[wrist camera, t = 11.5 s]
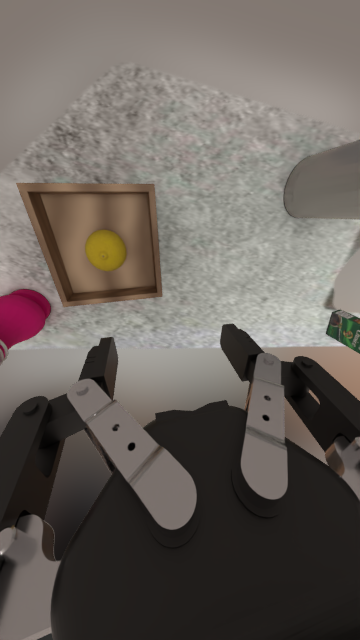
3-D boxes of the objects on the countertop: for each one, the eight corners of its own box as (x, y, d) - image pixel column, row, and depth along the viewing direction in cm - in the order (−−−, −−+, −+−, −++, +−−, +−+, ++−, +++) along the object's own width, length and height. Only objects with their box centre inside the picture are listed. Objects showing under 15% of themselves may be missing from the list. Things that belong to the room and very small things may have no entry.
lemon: (83, 236, 28) (68, 243, 21) (116, 222, 28) (111, 224, 21) (103, 269, 31) (95, 284, 24) (133, 256, 31) (133, 267, 24)
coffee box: (331, 311, 50) (387, 338, 39) (340, 308, 51) (399, 334, 40) (325, 333, 55) (373, 364, 44) (333, 331, 55) (384, 360, 44)
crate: (151, 188, 28) (154, 184, 24) (159, 287, 36) (162, 296, 32) (33, 187, 25) (16, 183, 21) (71, 296, 33) (63, 306, 29)
